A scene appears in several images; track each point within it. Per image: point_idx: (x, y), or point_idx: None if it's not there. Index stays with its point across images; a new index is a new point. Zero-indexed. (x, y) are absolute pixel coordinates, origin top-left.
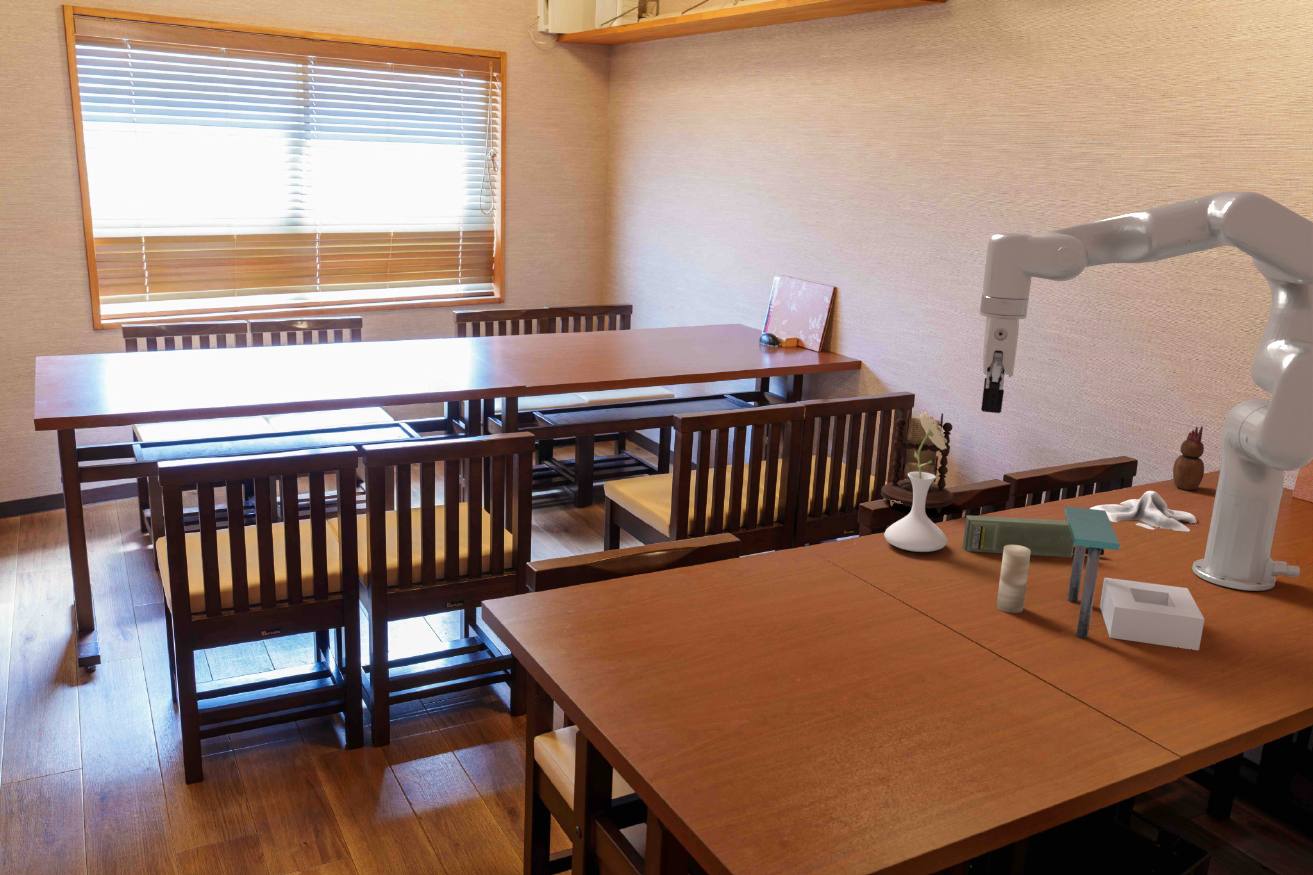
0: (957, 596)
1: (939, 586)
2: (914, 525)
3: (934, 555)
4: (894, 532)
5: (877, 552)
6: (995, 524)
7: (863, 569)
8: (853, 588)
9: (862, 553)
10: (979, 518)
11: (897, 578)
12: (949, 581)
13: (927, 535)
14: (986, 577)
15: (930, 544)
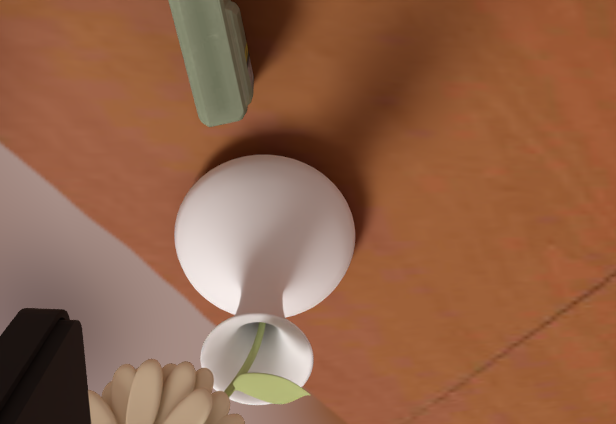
0: (610, 120)
1: (550, 163)
2: (309, 271)
3: None
4: (309, 304)
5: (347, 311)
6: (231, 18)
7: (474, 331)
8: (594, 340)
9: (366, 341)
10: (221, 80)
11: (515, 259)
12: (510, 139)
13: (326, 224)
14: (457, 37)
15: (342, 205)
